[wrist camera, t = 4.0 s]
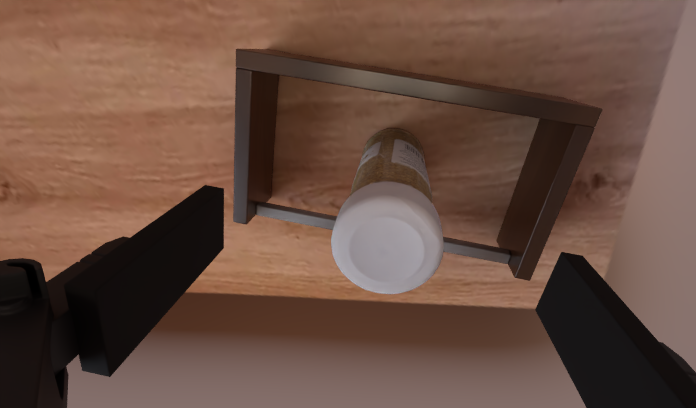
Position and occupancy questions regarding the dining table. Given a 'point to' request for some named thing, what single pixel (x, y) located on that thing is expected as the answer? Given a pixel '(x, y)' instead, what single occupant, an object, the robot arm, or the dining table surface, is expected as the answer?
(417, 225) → the spice jar
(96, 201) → the dining table surface
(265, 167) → the spice rack
